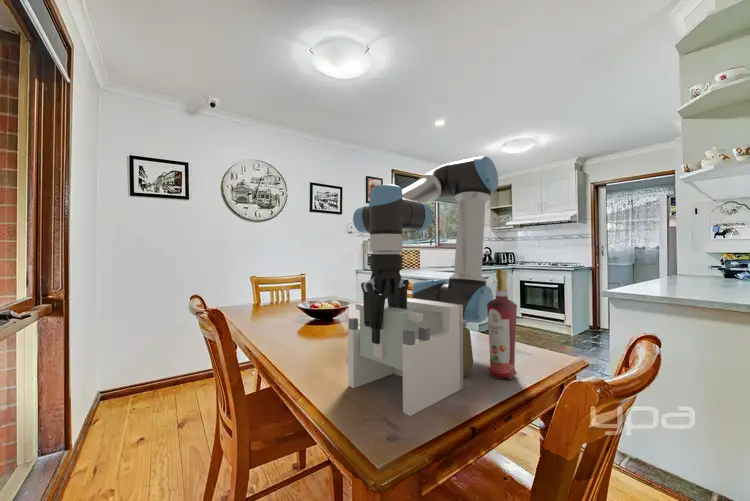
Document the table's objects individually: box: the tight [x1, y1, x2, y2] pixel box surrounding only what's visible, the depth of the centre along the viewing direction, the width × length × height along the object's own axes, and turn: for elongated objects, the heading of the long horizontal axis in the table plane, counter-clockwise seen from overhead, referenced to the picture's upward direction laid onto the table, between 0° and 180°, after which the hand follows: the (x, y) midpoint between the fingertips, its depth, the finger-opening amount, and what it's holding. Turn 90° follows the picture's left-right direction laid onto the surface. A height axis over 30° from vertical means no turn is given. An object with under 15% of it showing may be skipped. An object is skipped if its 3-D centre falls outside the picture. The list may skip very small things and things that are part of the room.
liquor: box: [487, 269, 518, 380], centre depth 84 cm, size 7×7×28 cm
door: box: [355, 302, 423, 370], centre depth 73 cm, size 4×20×12 cm, turn 43°
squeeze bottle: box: [463, 320, 474, 378], centre depth 86 cm, size 8×8×18 cm
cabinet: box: [347, 297, 464, 417], centre depth 77 cm, size 19×20×20 cm
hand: (386, 355), depth 73 cm, fingers closed on door, 4 cm apart
